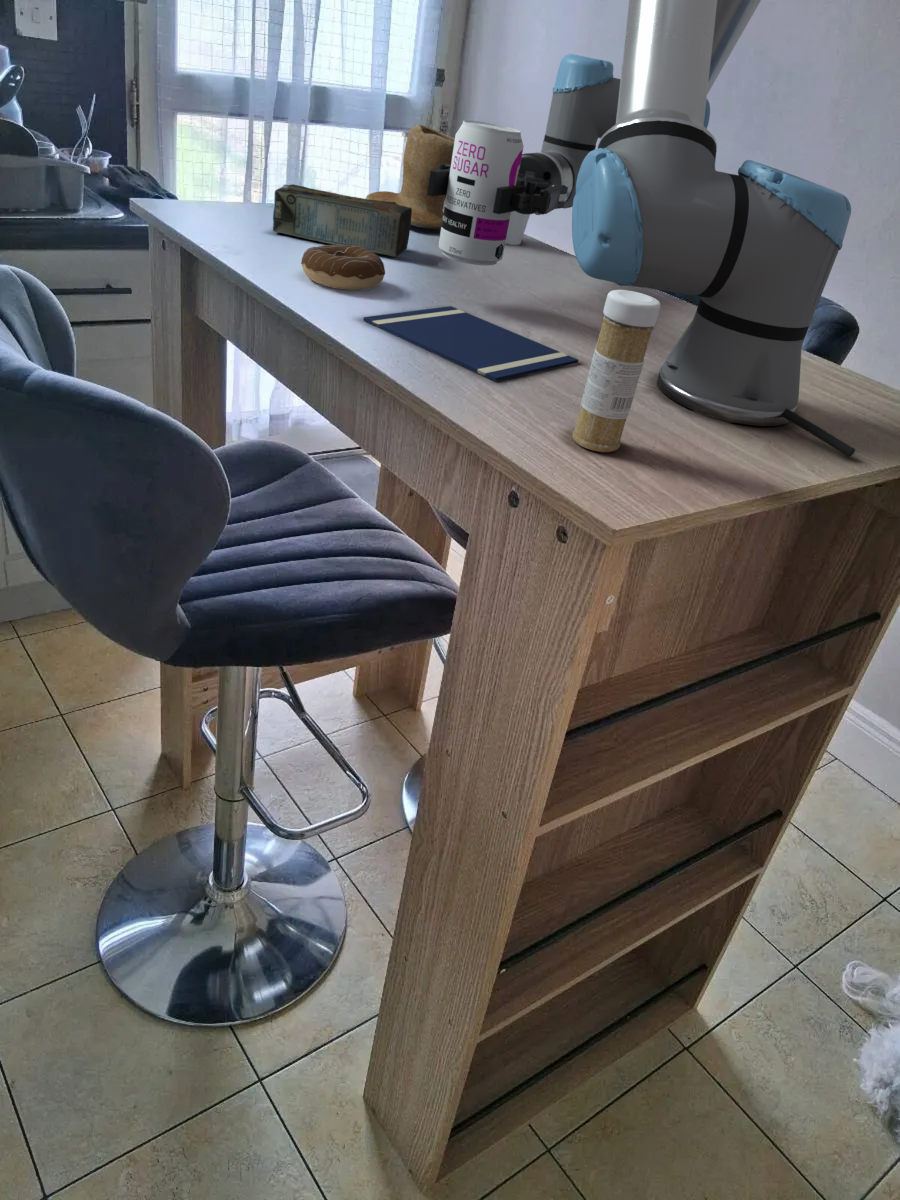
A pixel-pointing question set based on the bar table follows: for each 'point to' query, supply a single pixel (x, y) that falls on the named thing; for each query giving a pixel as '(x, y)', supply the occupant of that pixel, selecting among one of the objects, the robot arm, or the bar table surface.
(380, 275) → the donut
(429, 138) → the tan boot
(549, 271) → the bar table surface
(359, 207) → the beverage carton
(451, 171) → the white soda can
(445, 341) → the tea towel
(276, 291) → the bar table surface
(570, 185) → the robot arm
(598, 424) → the sprinkles bottle
